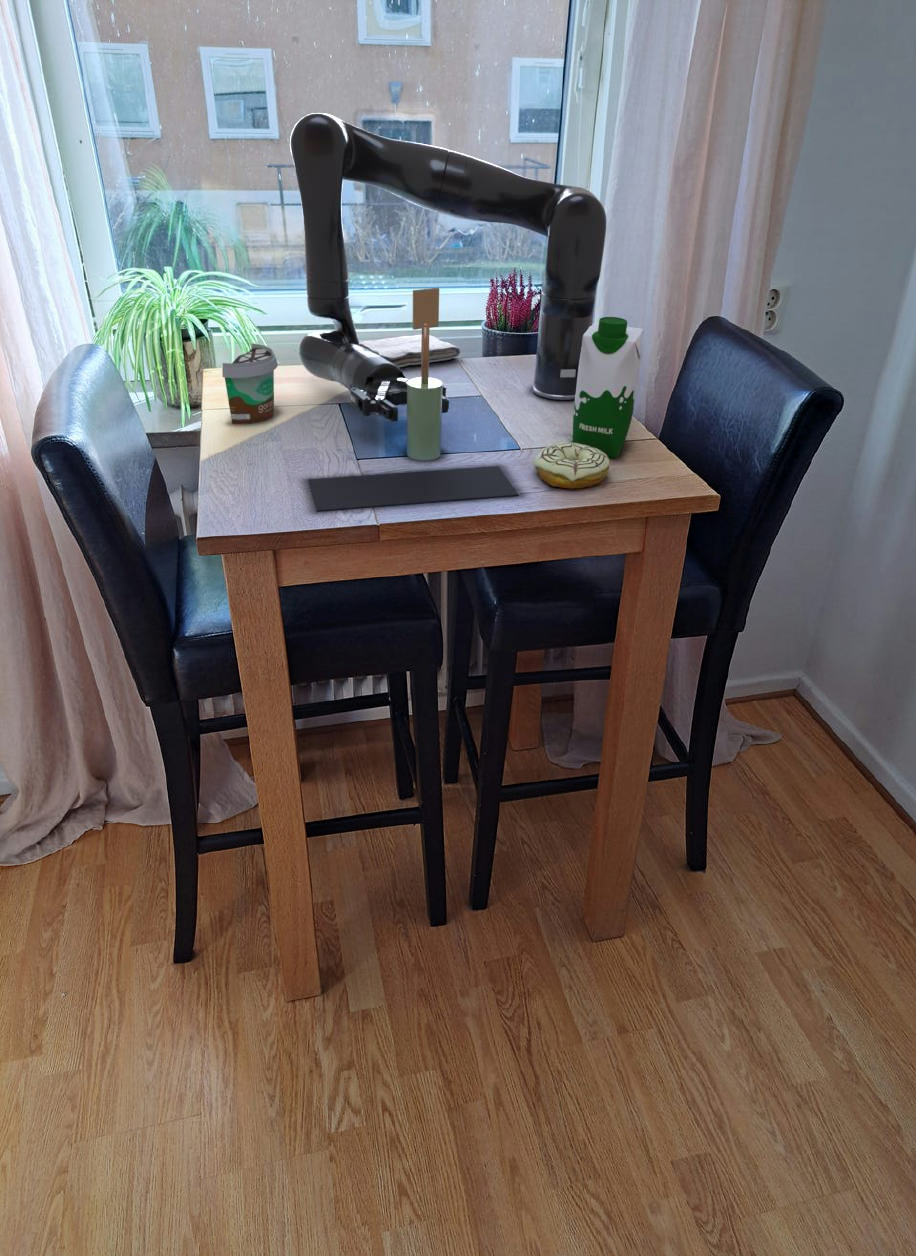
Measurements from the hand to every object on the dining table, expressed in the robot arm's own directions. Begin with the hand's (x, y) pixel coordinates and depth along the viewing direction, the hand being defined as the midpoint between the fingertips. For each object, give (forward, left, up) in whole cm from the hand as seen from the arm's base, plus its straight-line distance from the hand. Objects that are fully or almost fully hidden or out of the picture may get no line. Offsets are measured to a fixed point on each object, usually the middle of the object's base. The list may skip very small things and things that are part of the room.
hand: (421, 411), depth 131 cm
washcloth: (-21, -43, -7) cm, 49 cm away
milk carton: (-26, +11, -7) cm, 29 cm away
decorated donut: (-15, +18, -7) cm, 24 cm away
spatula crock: (0, +1, -7) cm, 7 cm away
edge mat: (+7, +11, -7) cm, 15 cm away
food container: (+16, -25, -7) cm, 31 cm away
